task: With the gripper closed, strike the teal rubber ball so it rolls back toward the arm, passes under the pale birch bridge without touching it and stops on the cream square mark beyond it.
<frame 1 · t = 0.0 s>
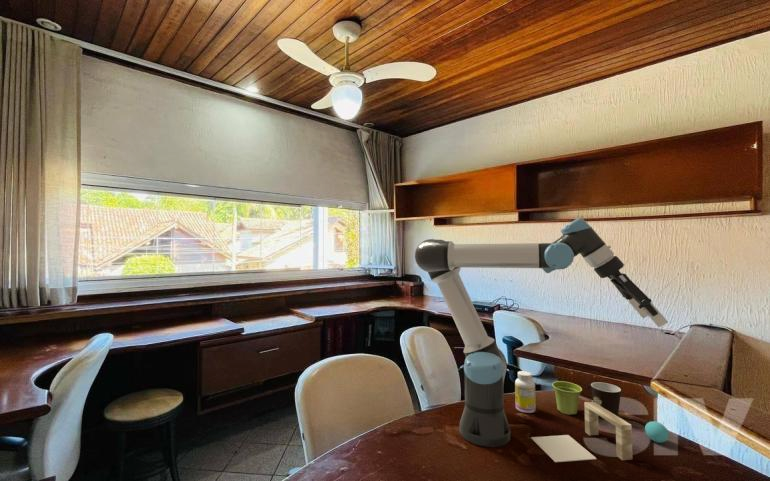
hand: (654, 320, 101), 36 cm above the table, tool tilted 35°, fingers open, 13 cm apart
plant pot: (567, 411, 120), on the table
ball: (656, 431, 101), on the table
supplement bottle: (525, 410, 122), on the table
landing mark: (562, 448, 98), on the table
bridge: (607, 444, 99), on the table
coffee mug: (604, 415, 117), on the table
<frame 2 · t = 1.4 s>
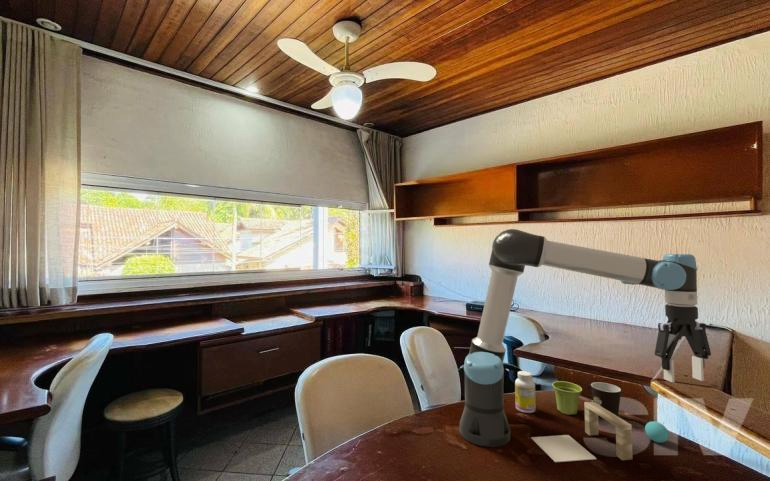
hand: (683, 379, 103), 18 cm above the table, tool pointing down, fingers open, 9 cm apart
nothing on the table moved.
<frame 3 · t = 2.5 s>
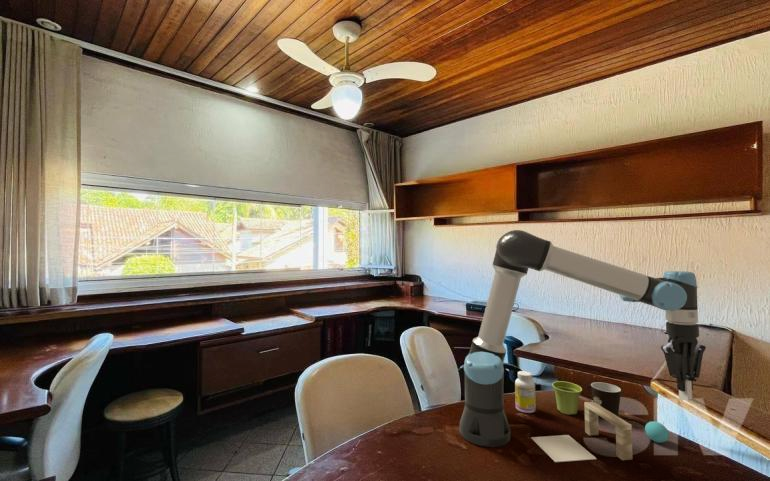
hand: (685, 401, 102), 11 cm above the table, tool pointing down, fingers closed
nothing on the table moved.
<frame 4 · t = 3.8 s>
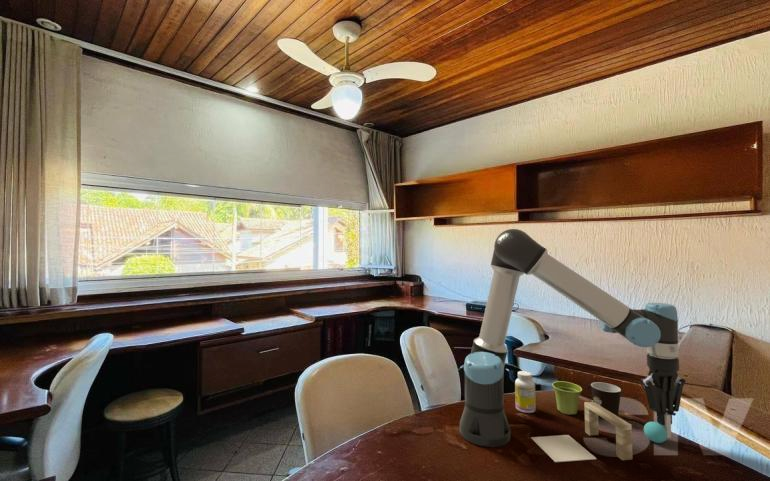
hand: (664, 435, 102), 1 cm above the table, tool pointing down, fingers closed
ball: (655, 432, 101), on the table, touching gripper
everything else where it was.
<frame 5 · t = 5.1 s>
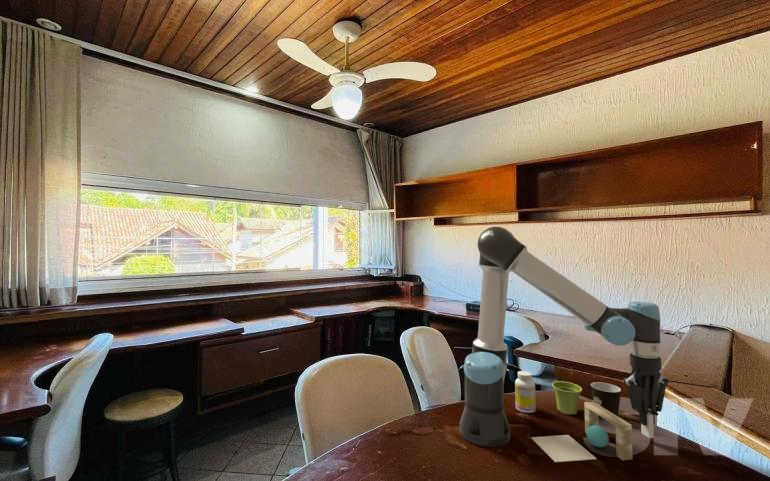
hand: (647, 435, 101), 2 cm above the table, tool pointing down, fingers closed
ball: (597, 436, 99), on the table
everything else where it was.
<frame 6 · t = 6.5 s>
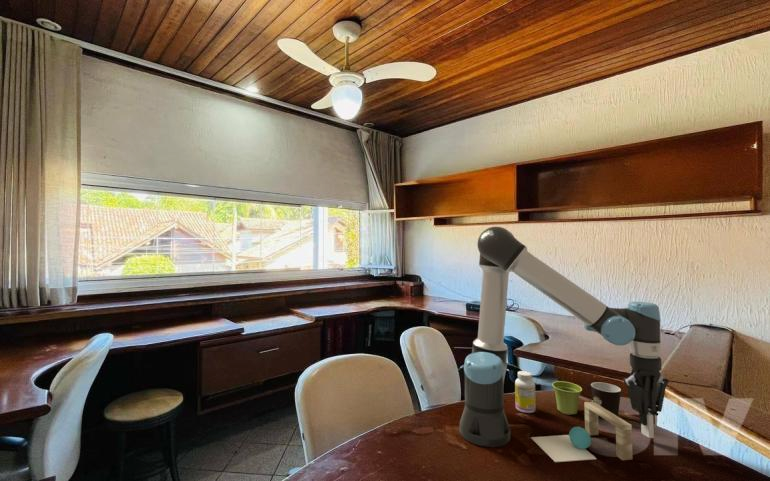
hand: (647, 435, 101), 2 cm above the table, tool pointing down, fingers closed
ball: (579, 437, 98), on the table
everything else where it was.
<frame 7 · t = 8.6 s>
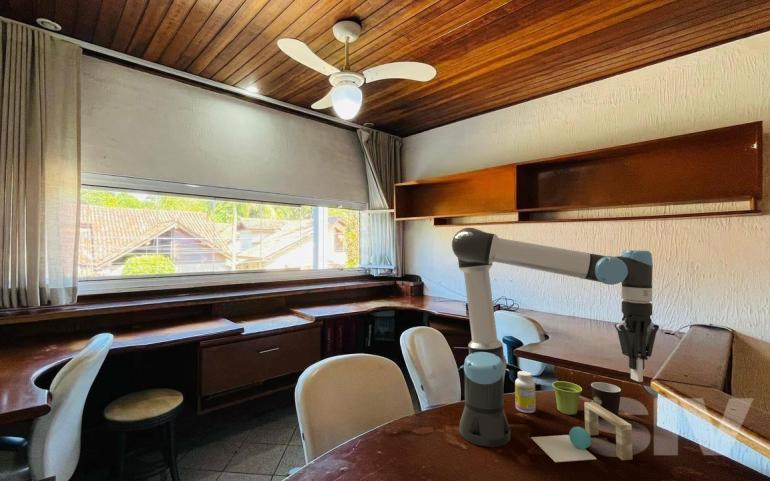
hand: (636, 379, 102), 18 cm above the table, tool pointing down, fingers closed
nothing on the table moved.
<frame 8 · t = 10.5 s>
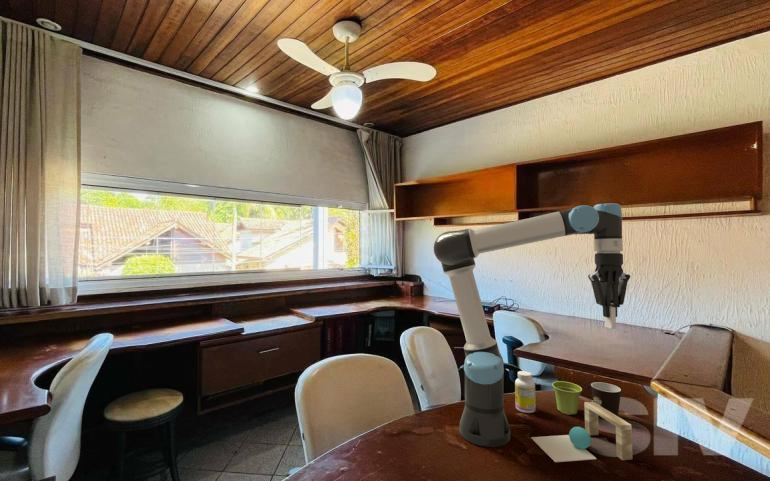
hand: (610, 327, 107), 32 cm above the table, tool pointing down, fingers closed
nothing on the table moved.
at the end: ball 5.4 cm from the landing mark (horizontally); ball never touched bridge; ball at rest at the end (0.0 cm/s) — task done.
